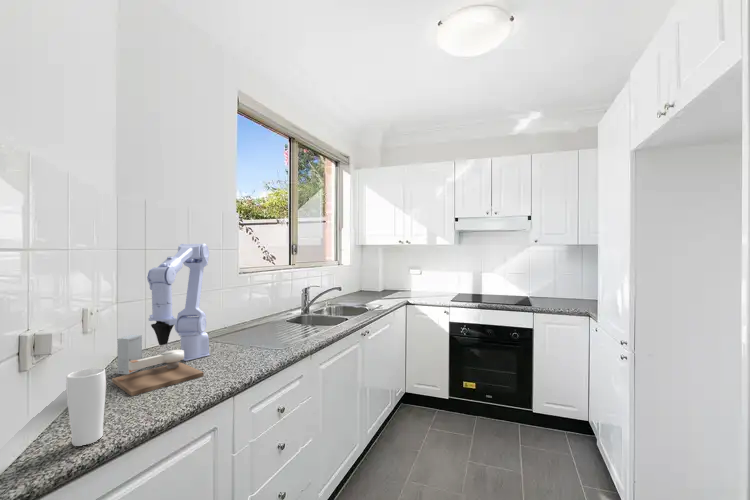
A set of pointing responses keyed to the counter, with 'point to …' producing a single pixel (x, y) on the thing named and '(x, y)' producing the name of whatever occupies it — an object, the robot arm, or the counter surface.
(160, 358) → the white long piece
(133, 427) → the counter surface
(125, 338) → the skincare box
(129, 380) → the board
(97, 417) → the white tumbler
